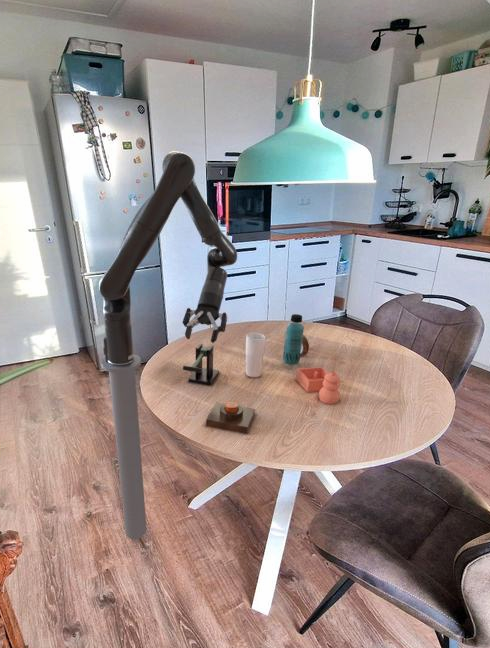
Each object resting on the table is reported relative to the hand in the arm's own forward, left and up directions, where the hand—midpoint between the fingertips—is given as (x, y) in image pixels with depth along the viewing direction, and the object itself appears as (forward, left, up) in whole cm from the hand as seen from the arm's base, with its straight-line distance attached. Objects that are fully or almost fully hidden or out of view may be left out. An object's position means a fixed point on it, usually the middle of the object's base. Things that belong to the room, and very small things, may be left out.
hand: (199, 340), depth 126 cm
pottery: (+40, +9, -16) cm, 44 cm away
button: (+16, -18, -12) cm, 27 cm away
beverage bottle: (+28, +26, -16) cm, 41 cm away
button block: (+16, -18, -16) cm, 29 cm away
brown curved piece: (+28, +40, -16) cm, 51 cm away
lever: (0, -1, -8) cm, 8 cm away
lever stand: (0, +5, -16) cm, 17 cm away
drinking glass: (+16, +13, -16) cm, 26 cm away
